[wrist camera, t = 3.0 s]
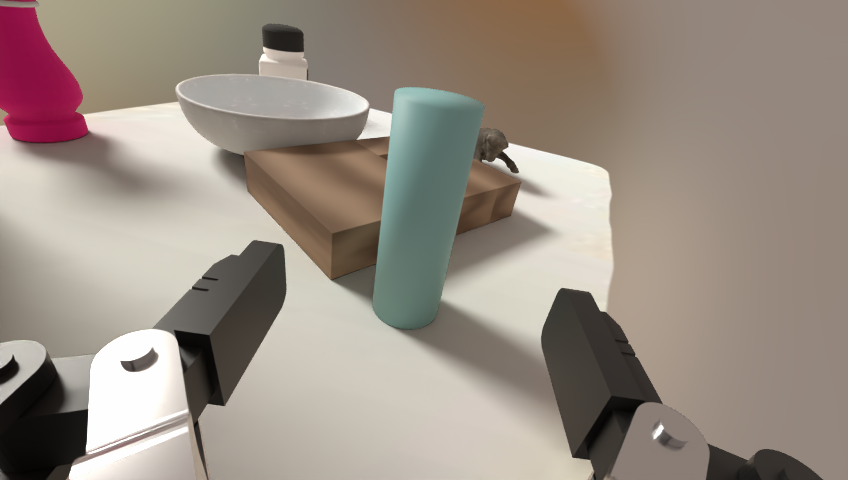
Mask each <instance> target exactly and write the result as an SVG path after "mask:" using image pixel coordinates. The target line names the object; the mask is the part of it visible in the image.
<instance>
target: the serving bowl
mask: <svg viewBox="0 0 848 480" xmlns="http://www.w3.org/2000/svg"><path fill="white" fill-rule="evenodd" d="M176 95H177V97H178V100H179V103H180V106H181V109H182V111H183V113H184V115H185V117H186V118H187V120H188V121H189V123H190V124H191V125H192V126H193V128H194V129H195V130H196V131H197V132H198V133H199V134H200V135H202V136H203V137H204V138H205V139H207V140H208V141H210V142H211V143H213V144H215V145H216V146H218V147H221V148H223V149H225V150H227V151H230V152H233V153H236V154H240V155H244V151H254V150H263V149H273V148H283V147H292V146H302V145H312V144H321V143H331V142H341V141H350V140H356V139H357V138H358V137H359V136H360V134H361V133H362V131H363V129H364V127H365V124H366V121H367V118H368V113H369V109H370V105H369V103H368V101H367V100H365V99H364V98H363V97H361V96H359V95H357V94H355V93H353V92H350V91H347V90H344V89H341V88H337V87H334V86H330V85H326V84H321V83H316V82H312V81H307V80H301V79H294V78H286V77H277V76H265V75H248V74H222V75H209V76H201V77H195V78H191V79H188V80H185V81H182V82H181V83H179V84H178V85H177V86H176Z"/></svg>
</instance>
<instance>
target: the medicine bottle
mask: <svg viewBox="0 0 848 480" xmlns="http://www.w3.org/2000/svg"><path fill="white" fill-rule="evenodd" d="M262 34H263V49H264V52H265V53H266V54H263V55H262V56H261V59H260V61H259V72H260V75H265V76H277V77H286V78H294V79H301V80H307V81H308V66H307V61H306V59H302V57H304V43H303V42H304V39H303V32H302V31H301V30H299V29H298V28H296V27H291V26H288V25H281V24H267V25H265V26H263V27H262Z"/></svg>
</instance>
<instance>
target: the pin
mask: <svg viewBox="0 0 848 480" xmlns="http://www.w3.org/2000/svg"><path fill="white" fill-rule="evenodd" d="M484 109H485V106H484V105H483V104H482V103H481V102H479V101H477V100H475V99H472V98H470V97H467V96H463V95H459V94H456V93H452V92H447V91H442V90H436V89H428V88H415V87H411V88H410V87H408V88H400V89H397V90H396V91H395V95H394V104H393V113H392V123H391V132H390V142H389V151H388V160H387V170H386V179H385V189H384V198H383V208H382V217H381V227H380V236H379V245H378V255H377V264H376V274H375V283H374V293H373V302H372V306H373V310H374V312H375V314H376V315H377V316H378V318H380V319H381V320H382V321H383V322H385V323H386V324H388V325H390V326H393V327H396V328H400V329H418V328H421V327H424V326H426V325H428V324H430V323H431V322H432V321H433V320H434V319H435V317H436V315H437V312H438V307H439V303H440V299H441V295H442V290H443V286H444V282H445V277H446V273H447V269H448V264H449V260H450V256H451V251H452V247H453V243H454V238H455V234H456V230H457V225H458V221H459V217H460V212H461V208H462V204H463V200H464V195H465V191H466V187H467V182H468V178H469V174H470V169H471V165H472V161H473V156H474V152H475V148H476V143H477V139H478V135H479V130H480V126H481V122H482V117H483V113H484Z"/></svg>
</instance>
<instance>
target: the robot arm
mask: <svg viewBox="0 0 848 480" xmlns="http://www.w3.org/2000/svg"><path fill="white" fill-rule="evenodd" d="M285 296H286V272H285V255H284V248H283V245H282V244H276V243H270V242H263V241H257V240H254V241H252V242H251V243H250V244H249V245H248V246H247V247H246V249H245V250H244V251H243V252H242V253H241V254H240V255H239V256H237V255H230V256H228V257H226V258H224V259H223V260H221V261H219V262H217V263H215V264H214V265H213V266H212V267H211V268H210V269H209V270H208V271H207V272H206V273H205V274H204V275H203V276H202V279H199V280H198V281H197V282H196V283H195V284H194V285H193V287H192V290H189V291H188V292H187V293H186V294H185V295H184V296H183V297H182V298H181V299H180V300H179V301H178V302H177V303H176V304H175V305H174V306H173V307H172V308H171V309H170V311H169V312H168V313H167V314H166V315H165V316H164V317H163V318H162V319H161V320H160V321H159V322H158V323H157V324H156V325H155V326H154V327H153V328H152V329H151V330H142V331H137V332H134V333H130V334H127V335H125V336H122V337H120V338H118V339H116V340H115V341H113V342H111V343H110V344H108V345H107V346H106V347H105V348H103V349H102V350H101V351H100V352H99V353H98V354H90V355H80V356H71V357H61V358H50V356H49V354H48V353H47V351H46V349H45V347H44V346H43V345H42V344H40V343H38V342H35V341H30V340H15V341H8V342H3V343H0V480H66V479H67V477H68V476H69V475H70V480H210V476H209V470H208V465H207V459H206V454H205V448H204V443H203V437H202V431H201V426H200V421H199V416H200V415H201V413H202V412H203V410H204V408H205V407H206V405H207V404H213V405H220V406H225V405H226V403H227V401H228V399H229V398H230V396H231V394H232V393H233V391H234V389H235V387H236V386H237V384H238V382H239V380H240V379H241V377H242V375H243V374H244V372H245V370H246V368H247V367H248V365H249V363H250V362H251V360H252V358H253V356H254V355H255V353H256V351H257V349H258V348H259V346H260V344H261V343H262V341H263V339H264V337H265V336H266V334H267V332H268V330H269V329H270V327H271V325H272V324H273V322H274V320H275V318H276V317H277V315H278V313H279V312H280V310H281V308H282V306H283V303H284V300H285ZM541 344H542V350H543V353H544V357H545V360H546V364H547V368H548V371H549V375H550V378H551V382H552V386H553V389H554V393H555V396H556V400H557V404H558V407H559V411H560V414H561V418H562V421H563V425H564V429H565V432H566V436H567V439H568V443H569V447H570V450H571V454H572V457H573V458H580V459H587V460H591V463H592V467H593V472H592V473H591V475H590V476H589V478H588V480H823V479H822V478H820V477H819V476H818V475H817V474H816V473H815V472H813V471H812V470H811V469H810V468H808V467H807V466H806V465H804V464H803V463H801V462H800V461H798V460H796V459H794V458H793V457H791V456H788V455H787V454H784V453H782V452H779V451H775V450H770V449H763V450H760V451H758V452H757V453H756V454H755V455H754V456H752V457H751V458H750V459H749V460H745V459H743V458H741V457H738V456H736V455H733V454H731V453H729V452H726V451H724V450H722V449H719V448H717V447H714V446H712V445H710V444H708V443H707V442H706V440H705V438H704V437H703V435H702V434H701V432H700V431H699V430H698V428H697V427H696V426H695V425H694V424H693V423H692V422H691V421H690V420H689V419H687V418H686V417H685V416H684V415H682V414H681V413H679V412H678V411H676V410H674V409H672V408H670V407H668V406H666V405H663V404H662V401H661V400H660V398H659V396H658V394H657V393H656V390H655V389H654V387H653V385H652V383H651V381H650V380H649V378H648V376H647V374H646V372H645V371H644V369H643V367H642V365H641V363H640V361H639V360H638V358H637V357H635V352H634V351H633V349H632V347H631V345H630V344H628V340H627V338H626V336H625V334H624V332H623V330H622V329H621V327H620V326H619V325H618V324H617V323H616V322H615V321H614V320H613V319H612V318H611V317H610V316H609V315H608V314H607V313H606V312H601V311H600V310H599V308H598V306H597V304H596V302H595V300H594V298H593V296H592V295H591V293H589V292H586V291H579V290H573V289H566V288H561V289H560V290H559V291H558V293H557V295H556V298H555V300H554V302H553V305H552V307H551V309H550V312H549V314H548V317H547V319H546V321H545V324H544V326H543V330H542V336H541Z"/></svg>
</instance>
